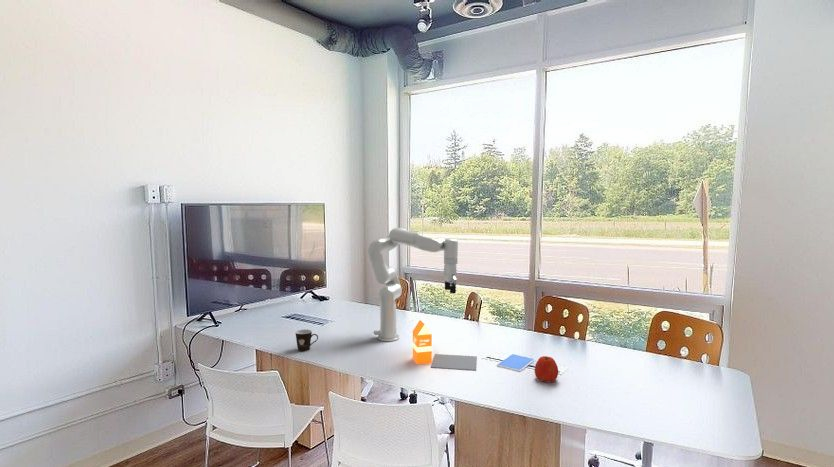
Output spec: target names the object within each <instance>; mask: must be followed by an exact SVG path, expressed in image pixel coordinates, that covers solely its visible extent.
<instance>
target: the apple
mask: <svg viewBox="0 0 834 467" xmlns="http://www.w3.org/2000/svg"><path fill="white" fill-rule="evenodd" d="M534 376H535V377H536V378H537V380H539V381H541V382H544V383H553V382H555V381H557V379H558V376H559V367H558V365H557V362H556V361H555V359H554V358H553V357H552V356H547V355H543V356H540V357H539V358H538V359H537V361H536V363H535V366H534Z"/></svg>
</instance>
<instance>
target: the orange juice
mask: <svg viewBox="0 0 834 467" xmlns="http://www.w3.org/2000/svg"><path fill="white" fill-rule="evenodd" d="M432 339H433V338H432V332H431V331H430V330H429V329H428V327H427V326H426V324H425V323H424V322H423V321H422V320H421V319H419V320H418V322H417V324H416V325H415V326H414V328H413V330H412V359H413V360H415V361H414V362H415V363H416V364H417V365H423V364H424V365H425V364H432V361H433V359H432V358H433V355H432V354H433V353H432V352H433V351H432V348H433V347H432V345H433V344H432V343H433V341H432Z"/></svg>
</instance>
